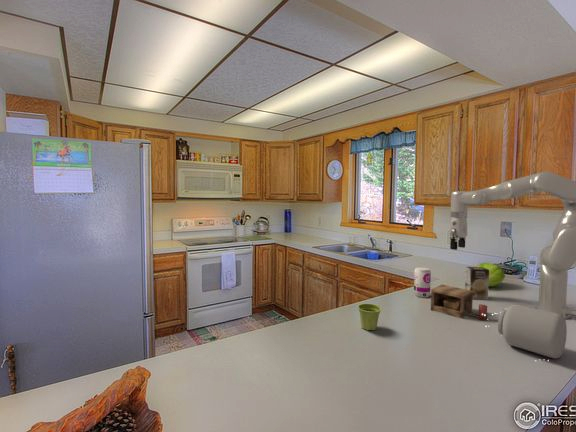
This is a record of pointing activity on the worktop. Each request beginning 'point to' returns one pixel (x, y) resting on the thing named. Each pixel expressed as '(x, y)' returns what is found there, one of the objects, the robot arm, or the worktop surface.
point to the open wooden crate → (453, 293)
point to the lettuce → (493, 273)
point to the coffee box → (477, 282)
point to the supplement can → (422, 282)
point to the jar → (533, 330)
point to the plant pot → (369, 315)
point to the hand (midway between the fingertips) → (457, 248)
